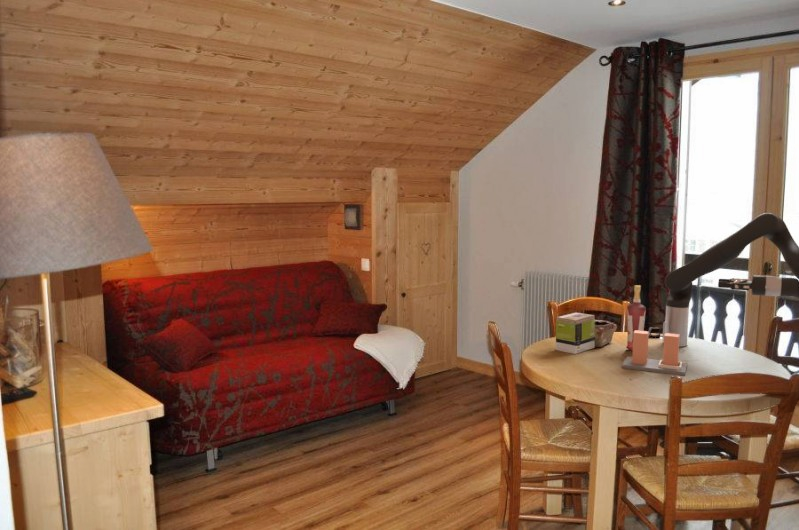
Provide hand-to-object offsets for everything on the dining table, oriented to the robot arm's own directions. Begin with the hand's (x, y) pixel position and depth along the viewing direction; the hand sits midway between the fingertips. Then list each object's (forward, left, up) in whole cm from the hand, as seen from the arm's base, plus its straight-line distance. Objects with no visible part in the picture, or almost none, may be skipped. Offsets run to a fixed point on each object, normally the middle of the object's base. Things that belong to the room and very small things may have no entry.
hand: (718, 282), depth 246 cm
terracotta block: (-2, -22, -31) cm, 38 cm away
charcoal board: (-6, -25, -32) cm, 41 cm away
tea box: (-41, -35, -32) cm, 62 cm away
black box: (-43, +14, -33) cm, 56 cm away
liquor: (-28, -14, -32) cm, 45 cm away
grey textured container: (-46, -18, -32) cm, 59 cm away
